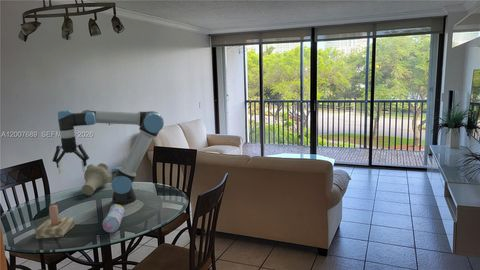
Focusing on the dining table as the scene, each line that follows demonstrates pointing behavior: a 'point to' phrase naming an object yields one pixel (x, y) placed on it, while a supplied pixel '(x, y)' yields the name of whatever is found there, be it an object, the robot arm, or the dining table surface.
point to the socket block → (54, 228)
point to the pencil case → (113, 218)
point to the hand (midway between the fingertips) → (72, 172)
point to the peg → (54, 215)
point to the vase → (95, 178)
